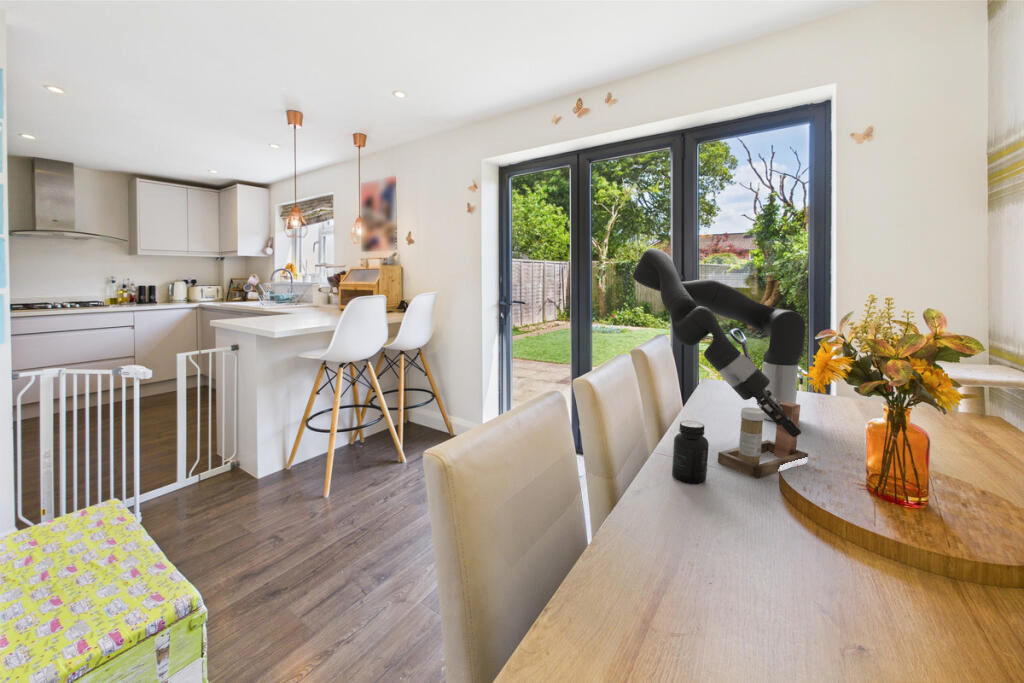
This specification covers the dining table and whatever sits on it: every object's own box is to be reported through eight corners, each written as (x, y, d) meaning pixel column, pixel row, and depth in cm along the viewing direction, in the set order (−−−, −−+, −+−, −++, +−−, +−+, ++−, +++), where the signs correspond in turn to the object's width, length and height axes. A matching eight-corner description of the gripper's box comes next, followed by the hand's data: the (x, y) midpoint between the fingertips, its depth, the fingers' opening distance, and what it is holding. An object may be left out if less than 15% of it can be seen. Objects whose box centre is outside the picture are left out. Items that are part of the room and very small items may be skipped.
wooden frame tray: (769, 448, 112) (773, 398, 111) (809, 462, 104) (815, 408, 102) (717, 462, 104) (721, 408, 102) (757, 478, 95) (762, 420, 93)
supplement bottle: (695, 470, 99) (698, 418, 98) (712, 484, 93) (716, 428, 91) (666, 472, 98) (669, 419, 97) (681, 486, 92) (684, 430, 90)
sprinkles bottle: (745, 461, 104) (750, 405, 102) (764, 469, 100) (769, 411, 98) (732, 465, 102) (736, 408, 100) (750, 472, 98) (755, 413, 96)
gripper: (731, 380, 117) (780, 431, 113) (729, 391, 105) (784, 450, 101) (756, 361, 114) (807, 414, 110) (756, 372, 102) (815, 431, 98)
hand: (796, 431), depth 106 cm, fingers closed on wooden frame tray, 4 cm apart
